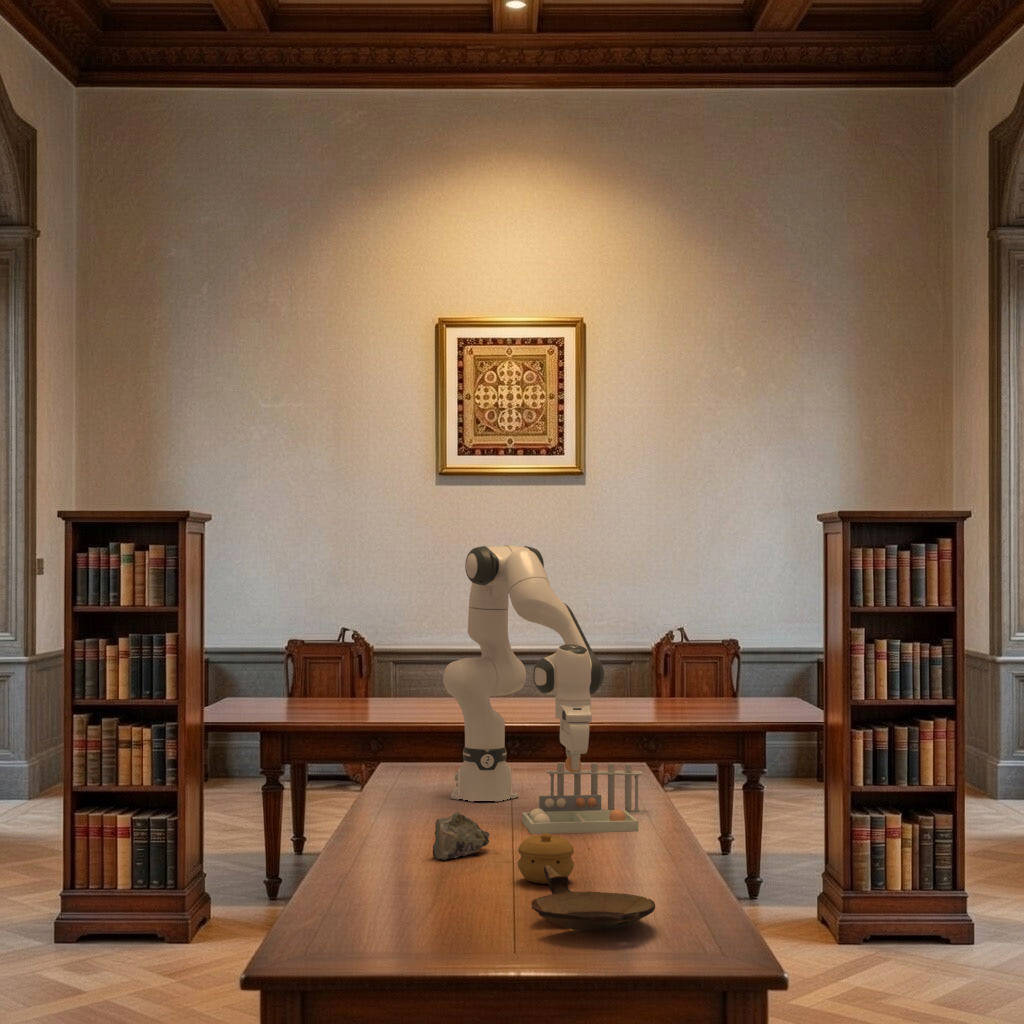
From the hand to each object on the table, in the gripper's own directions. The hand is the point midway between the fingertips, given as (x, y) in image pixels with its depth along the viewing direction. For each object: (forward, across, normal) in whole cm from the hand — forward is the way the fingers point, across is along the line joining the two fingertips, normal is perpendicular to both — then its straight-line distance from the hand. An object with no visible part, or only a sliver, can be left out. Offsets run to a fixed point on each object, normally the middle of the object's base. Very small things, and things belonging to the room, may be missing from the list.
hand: (573, 767), depth 341 cm
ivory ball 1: (+15, -4, -8) cm, 17 cm away
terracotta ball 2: (+15, 0, +11) cm, 18 cm away
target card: (+15, -13, +2) cm, 20 cm away
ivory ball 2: (+15, +3, -8) cm, 17 cm away
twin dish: (+15, 0, +2) cm, 15 cm away
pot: (+16, +53, -15) cm, 57 cm away
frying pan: (+16, +86, -12) cm, 88 cm away
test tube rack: (+15, -20, +9) cm, 27 cm away
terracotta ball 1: (+1, 0, 0) cm, 1 cm away
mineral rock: (+15, +27, -30) cm, 43 cm away
